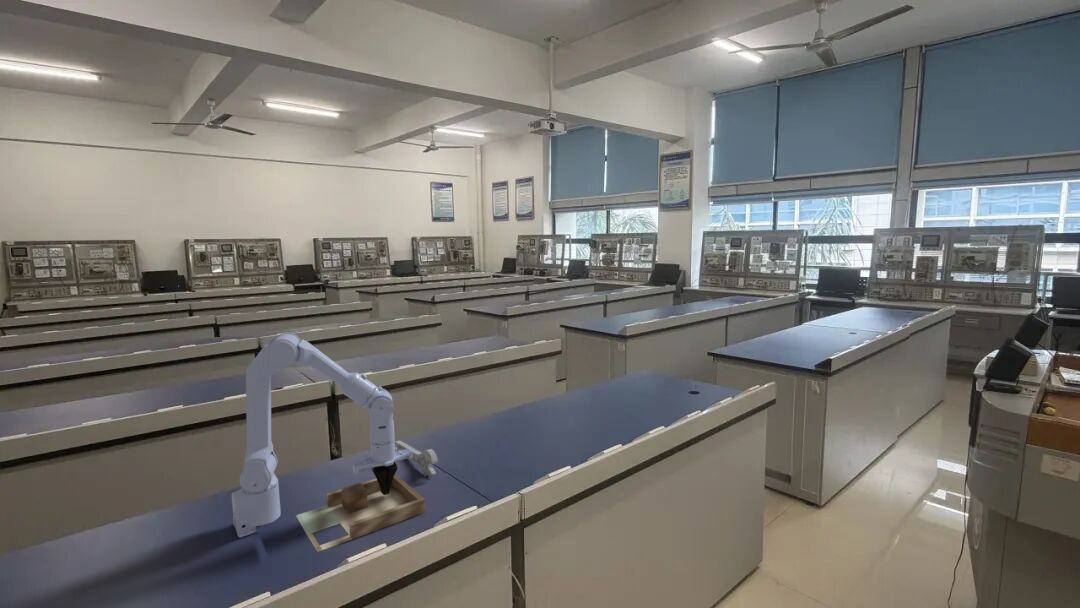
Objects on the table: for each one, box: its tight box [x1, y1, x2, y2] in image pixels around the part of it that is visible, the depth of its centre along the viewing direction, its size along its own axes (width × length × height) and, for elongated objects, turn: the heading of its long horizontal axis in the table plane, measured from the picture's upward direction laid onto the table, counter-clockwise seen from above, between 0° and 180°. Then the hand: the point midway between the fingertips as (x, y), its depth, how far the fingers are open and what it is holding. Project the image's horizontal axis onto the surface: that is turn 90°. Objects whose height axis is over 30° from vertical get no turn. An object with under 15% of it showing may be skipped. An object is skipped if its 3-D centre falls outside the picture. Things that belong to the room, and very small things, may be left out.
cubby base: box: [295, 473, 426, 553], centre depth 116 cm, size 24×18×4 cm
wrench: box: [395, 439, 439, 478], centre depth 144 cm, size 8×2×30 cm
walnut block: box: [340, 482, 368, 514], centre depth 119 cm, size 4×4×4 cm
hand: (385, 492), depth 124 cm, fingers closed
